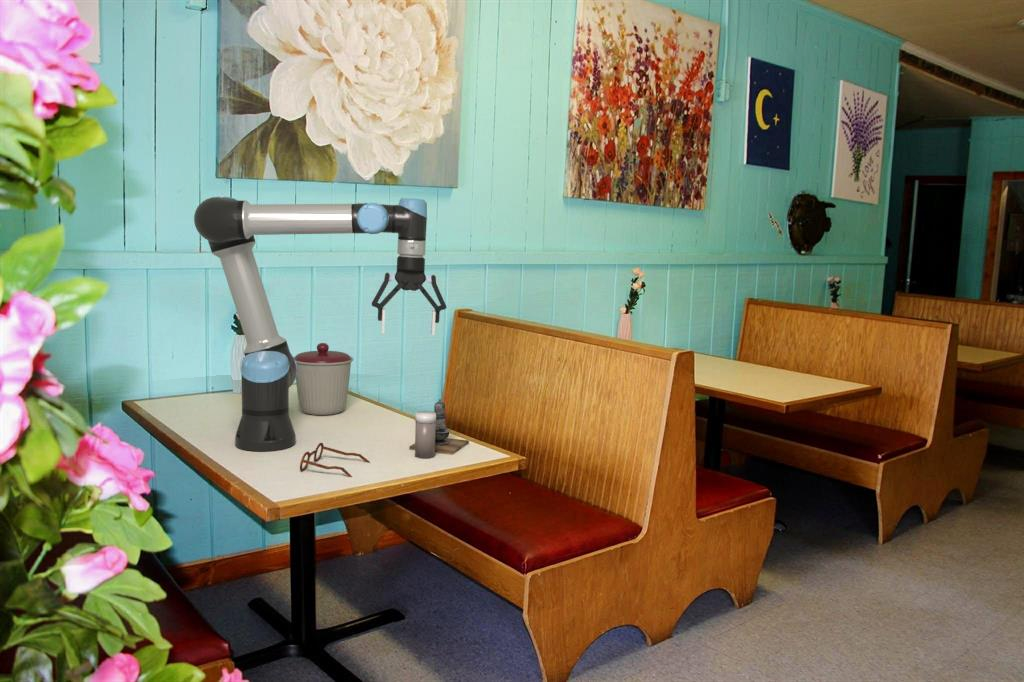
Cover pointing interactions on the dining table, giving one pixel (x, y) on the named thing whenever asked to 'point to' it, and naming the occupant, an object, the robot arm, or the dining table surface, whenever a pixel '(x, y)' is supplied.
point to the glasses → (320, 457)
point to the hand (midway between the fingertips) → (408, 333)
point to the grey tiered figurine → (440, 425)
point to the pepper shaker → (425, 434)
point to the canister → (322, 380)
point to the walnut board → (448, 446)
